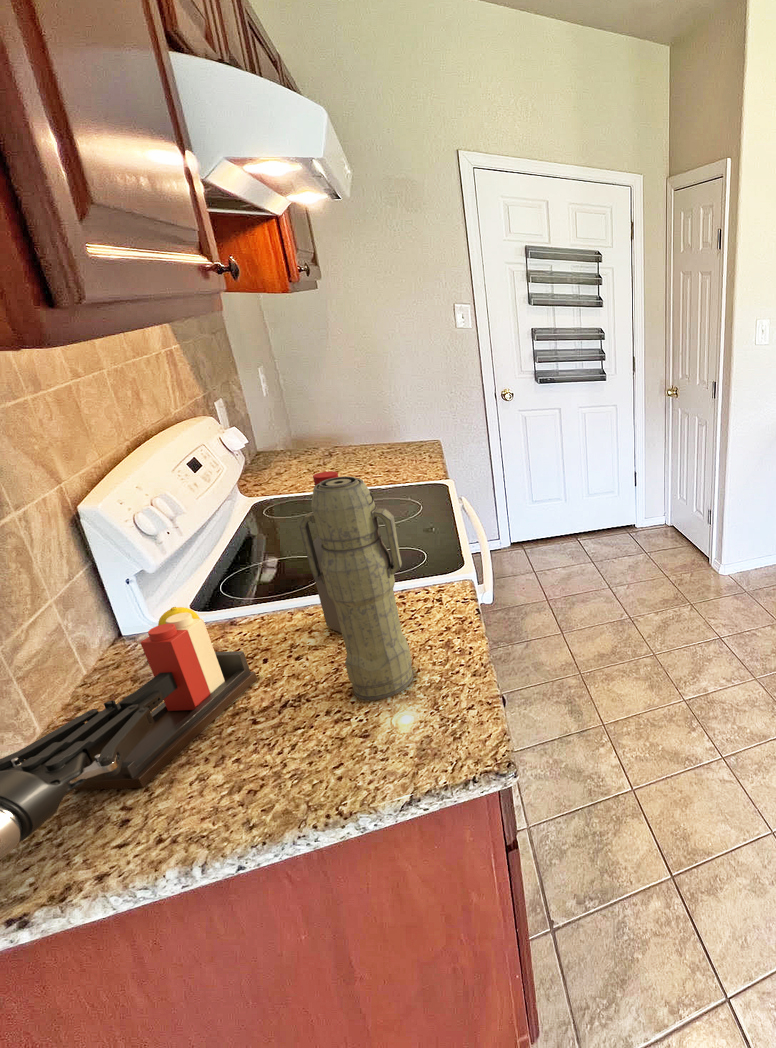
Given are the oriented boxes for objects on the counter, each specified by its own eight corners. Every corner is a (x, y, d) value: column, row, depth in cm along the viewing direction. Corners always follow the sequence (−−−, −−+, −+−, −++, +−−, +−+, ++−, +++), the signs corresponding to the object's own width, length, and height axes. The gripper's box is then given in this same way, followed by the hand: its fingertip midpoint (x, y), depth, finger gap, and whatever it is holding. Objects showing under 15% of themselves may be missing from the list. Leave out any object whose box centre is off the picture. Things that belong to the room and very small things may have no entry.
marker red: (167, 711, 84) (136, 635, 79) (183, 697, 87) (154, 623, 82) (196, 710, 84) (167, 634, 79) (211, 696, 87) (184, 622, 82)
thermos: (423, 689, 92) (383, 486, 80) (338, 708, 88) (281, 496, 75) (425, 659, 100) (388, 468, 87) (346, 675, 95) (296, 476, 83)
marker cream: (183, 697, 87) (154, 623, 82) (198, 684, 89) (171, 612, 85) (211, 696, 87) (184, 622, 82) (226, 683, 90) (200, 611, 85)
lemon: (167, 644, 102) (152, 606, 99) (208, 634, 105) (194, 596, 102) (165, 659, 98) (150, 619, 95) (208, 648, 101) (194, 609, 98)
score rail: (74, 790, 73) (58, 757, 71) (205, 680, 93) (195, 652, 91) (142, 787, 73) (127, 754, 71) (257, 678, 94) (248, 650, 92)
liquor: (397, 616, 112) (367, 471, 102) (351, 639, 105) (314, 485, 94) (367, 605, 116) (335, 464, 105) (321, 626, 108) (281, 477, 98)
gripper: (-67, 852, 61) (129, 702, 83) (66, 846, 62) (225, 699, 84) (-102, 800, 58) (110, 659, 80) (38, 794, 59) (209, 657, 81)
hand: (168, 680), depth 82 cm, fingers closed
